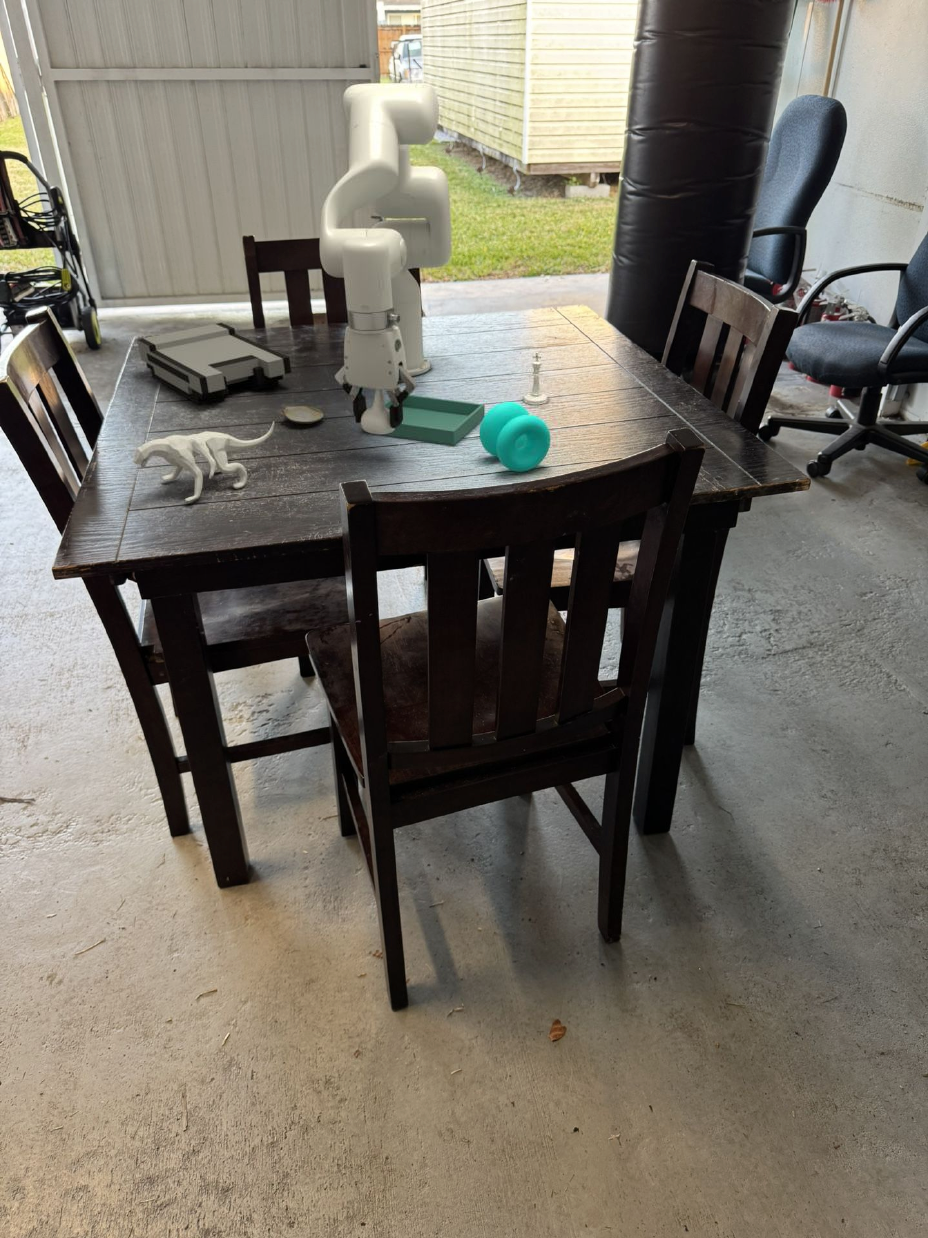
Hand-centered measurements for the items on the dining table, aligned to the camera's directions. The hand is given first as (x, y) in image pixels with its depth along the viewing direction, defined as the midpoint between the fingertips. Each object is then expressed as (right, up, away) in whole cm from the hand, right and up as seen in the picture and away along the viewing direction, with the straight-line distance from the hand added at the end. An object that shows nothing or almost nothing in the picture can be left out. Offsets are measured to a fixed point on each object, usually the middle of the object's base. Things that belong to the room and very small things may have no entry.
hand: (378, 422), depth 149 cm
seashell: (-17, +4, +19) cm, 26 cm away
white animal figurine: (-28, -12, -4) cm, 30 cm away
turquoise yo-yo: (+24, -7, +1) cm, 25 cm away
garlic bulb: (0, -1, +1) cm, 2 cm away
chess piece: (+30, +11, +27) cm, 42 cm away
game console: (-41, +18, +41) cm, 60 cm away
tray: (+7, +3, +17) cm, 19 cm away
